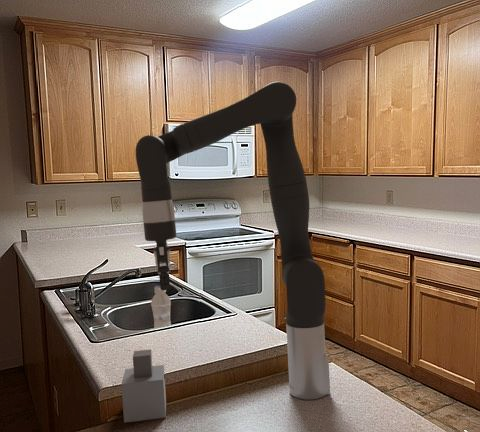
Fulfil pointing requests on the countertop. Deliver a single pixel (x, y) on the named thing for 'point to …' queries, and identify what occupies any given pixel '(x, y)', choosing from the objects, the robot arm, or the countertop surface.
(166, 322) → the plastic bottle
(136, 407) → the stepped gray cube pair
